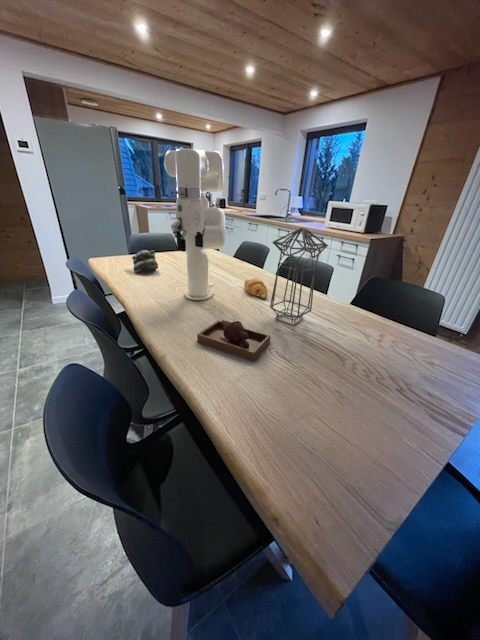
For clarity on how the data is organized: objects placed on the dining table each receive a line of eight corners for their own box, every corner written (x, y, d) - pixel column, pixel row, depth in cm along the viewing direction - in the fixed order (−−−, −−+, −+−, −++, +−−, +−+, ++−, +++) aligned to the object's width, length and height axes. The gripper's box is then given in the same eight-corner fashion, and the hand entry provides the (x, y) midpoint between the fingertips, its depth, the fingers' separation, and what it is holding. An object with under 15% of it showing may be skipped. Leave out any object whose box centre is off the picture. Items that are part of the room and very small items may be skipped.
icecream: (211, 317, 87) (237, 340, 77) (229, 308, 90) (256, 328, 80) (214, 332, 92) (239, 356, 82) (231, 323, 95) (258, 345, 85)
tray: (217, 326, 97) (218, 320, 96) (269, 342, 88) (270, 335, 87) (197, 341, 87) (197, 334, 86) (253, 361, 78) (254, 353, 77)
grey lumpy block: (129, 273, 150) (124, 249, 150) (140, 276, 162) (135, 254, 162) (154, 267, 148) (148, 243, 148) (163, 270, 160) (158, 248, 160)
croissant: (270, 305, 127) (278, 291, 125) (254, 298, 121) (263, 283, 119) (249, 290, 143) (256, 277, 142) (235, 283, 137) (242, 270, 136)
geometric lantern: (262, 318, 105) (270, 226, 90) (284, 308, 116) (295, 224, 101) (295, 332, 96) (312, 232, 81) (316, 319, 107) (334, 229, 91)
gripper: (180, 194, 76) (183, 254, 83) (213, 195, 90) (213, 246, 97) (160, 193, 79) (165, 251, 86) (195, 194, 93) (196, 244, 100)
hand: (190, 248), depth 92 cm, fingers open, 9 cm apart
